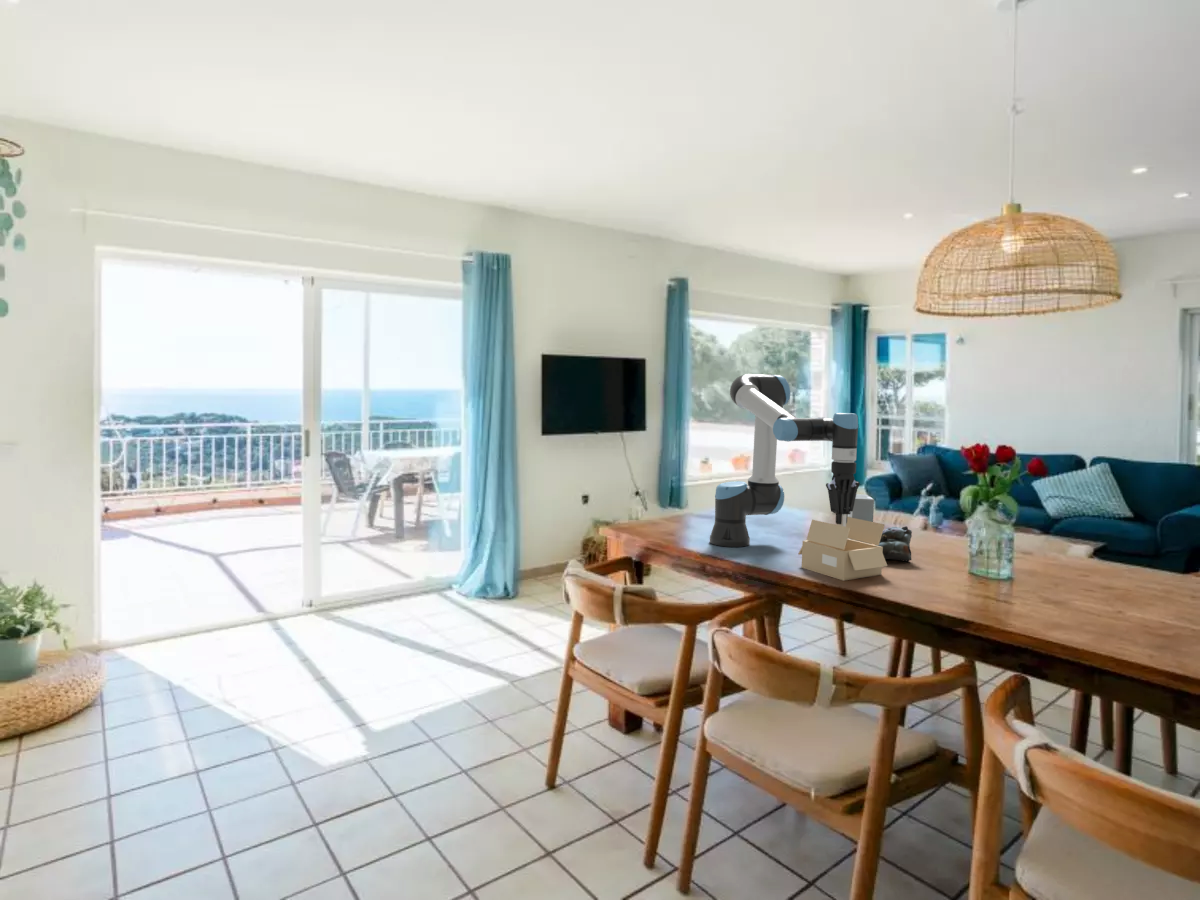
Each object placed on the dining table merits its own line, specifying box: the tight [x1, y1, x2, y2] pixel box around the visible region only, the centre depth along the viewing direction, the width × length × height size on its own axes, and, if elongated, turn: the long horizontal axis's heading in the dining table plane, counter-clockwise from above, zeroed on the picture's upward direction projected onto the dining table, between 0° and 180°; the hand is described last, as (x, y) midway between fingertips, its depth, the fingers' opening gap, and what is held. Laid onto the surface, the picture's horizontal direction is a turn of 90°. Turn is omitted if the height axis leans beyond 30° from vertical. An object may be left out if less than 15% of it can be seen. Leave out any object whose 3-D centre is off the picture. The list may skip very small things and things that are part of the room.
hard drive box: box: [847, 493, 875, 544], centre depth 263 cm, size 16×8×20 cm, turn 168°
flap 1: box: [806, 519, 850, 550], centre depth 225 cm, size 16×7×1 cm
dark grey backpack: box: [876, 525, 913, 563], centre depth 246 cm, size 15×12×14 cm
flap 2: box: [846, 517, 886, 545], centre depth 232 cm, size 16×7×1 cm
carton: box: [798, 539, 888, 582], centre depth 229 cm, size 24×17×9 cm
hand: (840, 533), depth 228 cm, fingers closed
